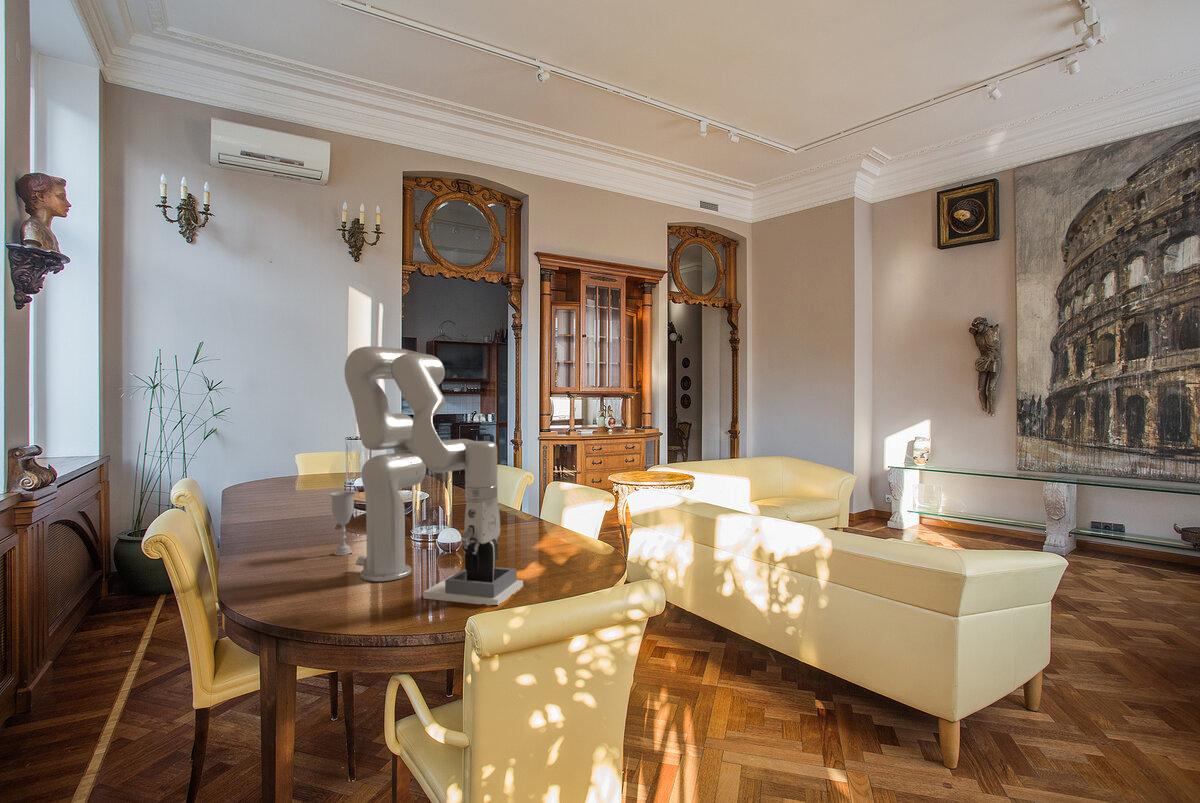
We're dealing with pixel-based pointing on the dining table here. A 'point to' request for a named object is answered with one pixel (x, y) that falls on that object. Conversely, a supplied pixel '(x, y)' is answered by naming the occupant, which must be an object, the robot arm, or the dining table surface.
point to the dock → (476, 588)
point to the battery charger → (485, 563)
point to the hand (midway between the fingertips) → (481, 564)
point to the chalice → (343, 515)
